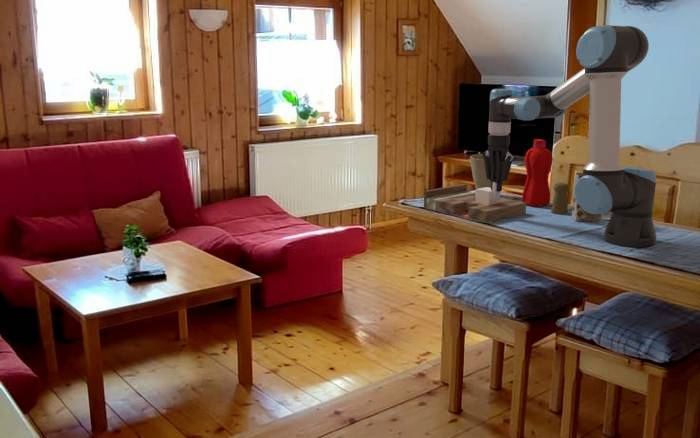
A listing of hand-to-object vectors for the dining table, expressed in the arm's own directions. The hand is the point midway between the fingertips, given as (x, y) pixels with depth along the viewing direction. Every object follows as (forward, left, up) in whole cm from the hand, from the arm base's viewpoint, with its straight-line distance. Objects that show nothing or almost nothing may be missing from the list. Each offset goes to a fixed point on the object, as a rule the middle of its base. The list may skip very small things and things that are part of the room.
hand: (495, 199), depth 254 cm
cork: (-19, -16, -6) cm, 26 cm away
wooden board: (+9, -3, -6) cm, 11 cm away
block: (+3, -1, -2) cm, 4 cm away
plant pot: (+14, -31, -6) cm, 35 cm away
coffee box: (-30, -10, -6) cm, 32 cm away
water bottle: (-8, -26, -6) cm, 28 cm away
